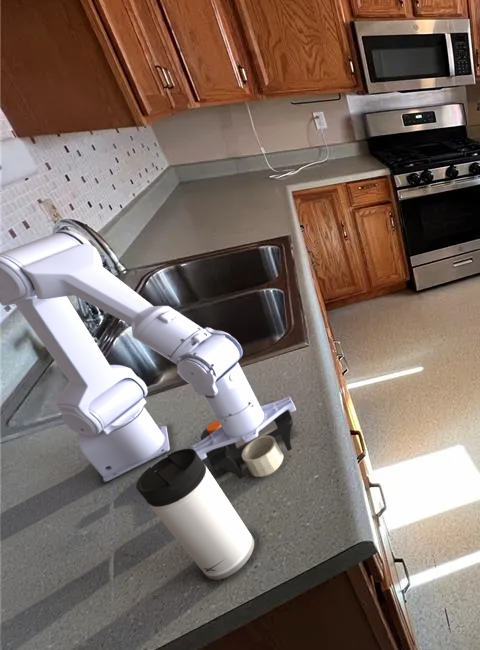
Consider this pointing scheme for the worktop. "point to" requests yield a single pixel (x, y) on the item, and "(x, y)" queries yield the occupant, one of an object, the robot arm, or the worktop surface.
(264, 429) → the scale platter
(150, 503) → the travel mug
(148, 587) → the worktop surface
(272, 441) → the cream hollow cylinder
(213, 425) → the tare button
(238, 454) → the scale
